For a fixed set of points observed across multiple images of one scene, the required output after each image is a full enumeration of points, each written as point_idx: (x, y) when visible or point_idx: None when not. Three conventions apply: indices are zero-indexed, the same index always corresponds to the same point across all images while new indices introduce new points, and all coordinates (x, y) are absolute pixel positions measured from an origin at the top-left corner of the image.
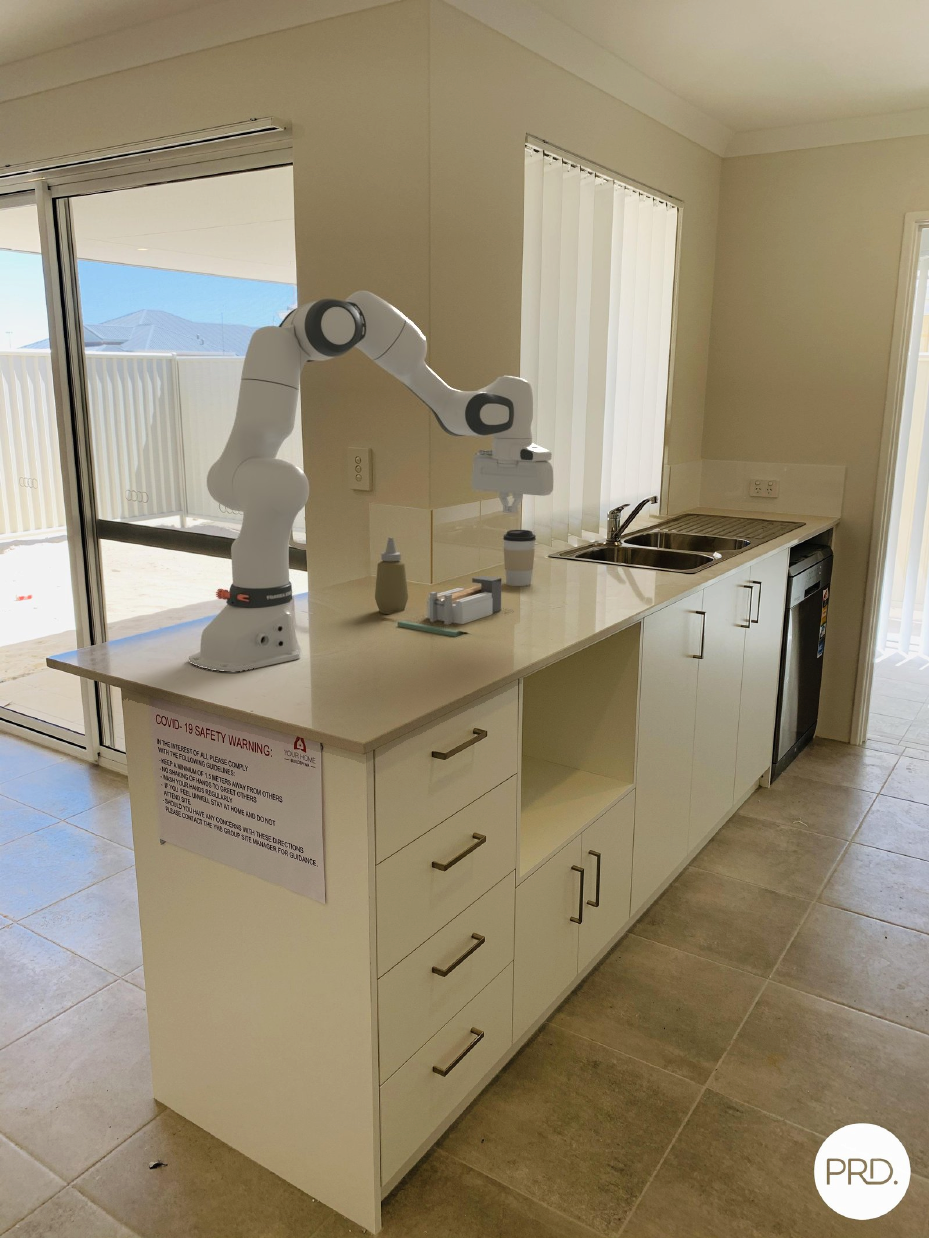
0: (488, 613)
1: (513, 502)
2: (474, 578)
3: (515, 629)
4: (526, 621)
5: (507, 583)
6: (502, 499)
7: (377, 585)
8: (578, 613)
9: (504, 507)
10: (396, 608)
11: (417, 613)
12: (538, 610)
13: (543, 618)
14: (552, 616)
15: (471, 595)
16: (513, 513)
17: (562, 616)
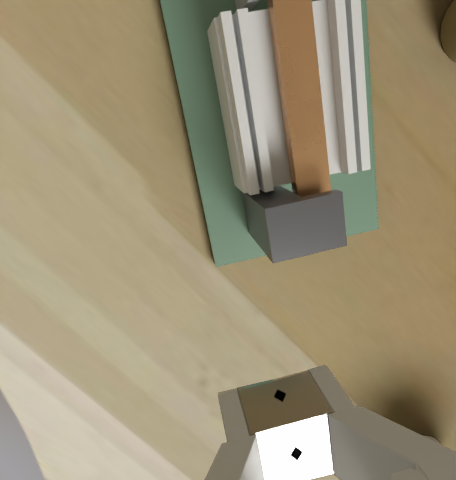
0: (232, 167)
1: (233, 470)
2: (334, 194)
3: (102, 141)
4: (150, 228)
5: (430, 438)
6: (392, 448)
7: None
8: (128, 378)
9: (327, 395)
10: (453, 6)
11: (409, 73)
12: (214, 328)
13: (145, 282)
14: (146, 312)
15: (287, 140)
16: (225, 394)
17: (130, 330)
